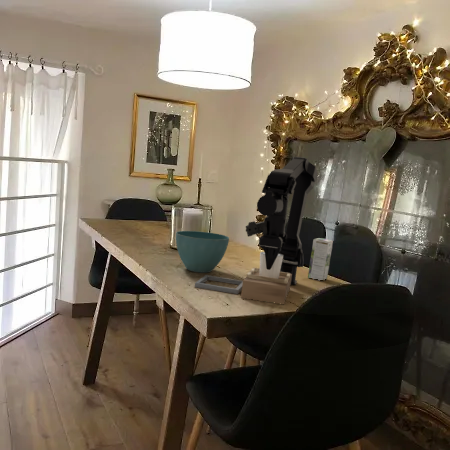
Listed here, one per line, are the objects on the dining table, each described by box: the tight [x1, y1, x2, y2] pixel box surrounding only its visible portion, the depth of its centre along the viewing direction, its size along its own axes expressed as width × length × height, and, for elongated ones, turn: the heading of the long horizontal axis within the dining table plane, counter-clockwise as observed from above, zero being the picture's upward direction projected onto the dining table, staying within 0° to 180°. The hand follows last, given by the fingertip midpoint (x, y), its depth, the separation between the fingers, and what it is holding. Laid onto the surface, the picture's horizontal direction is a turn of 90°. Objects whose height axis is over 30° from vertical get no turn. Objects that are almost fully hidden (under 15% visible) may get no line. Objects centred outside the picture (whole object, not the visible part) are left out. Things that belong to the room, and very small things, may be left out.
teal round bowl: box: [175, 230, 230, 274], centre depth 166 cm, size 18×18×12 cm
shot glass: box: [259, 251, 283, 278], centre depth 143 cm, size 7×7×7 cm
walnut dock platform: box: [240, 267, 292, 305], centre depth 143 cm, size 20×12×6 cm, turn 167°
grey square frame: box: [194, 274, 243, 295], centre depth 147 cm, size 13×13×1 cm
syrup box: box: [307, 237, 334, 281], centre depth 174 cm, size 6×6×14 cm
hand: (270, 267), depth 143 cm, fingers open, 8 cm apart
